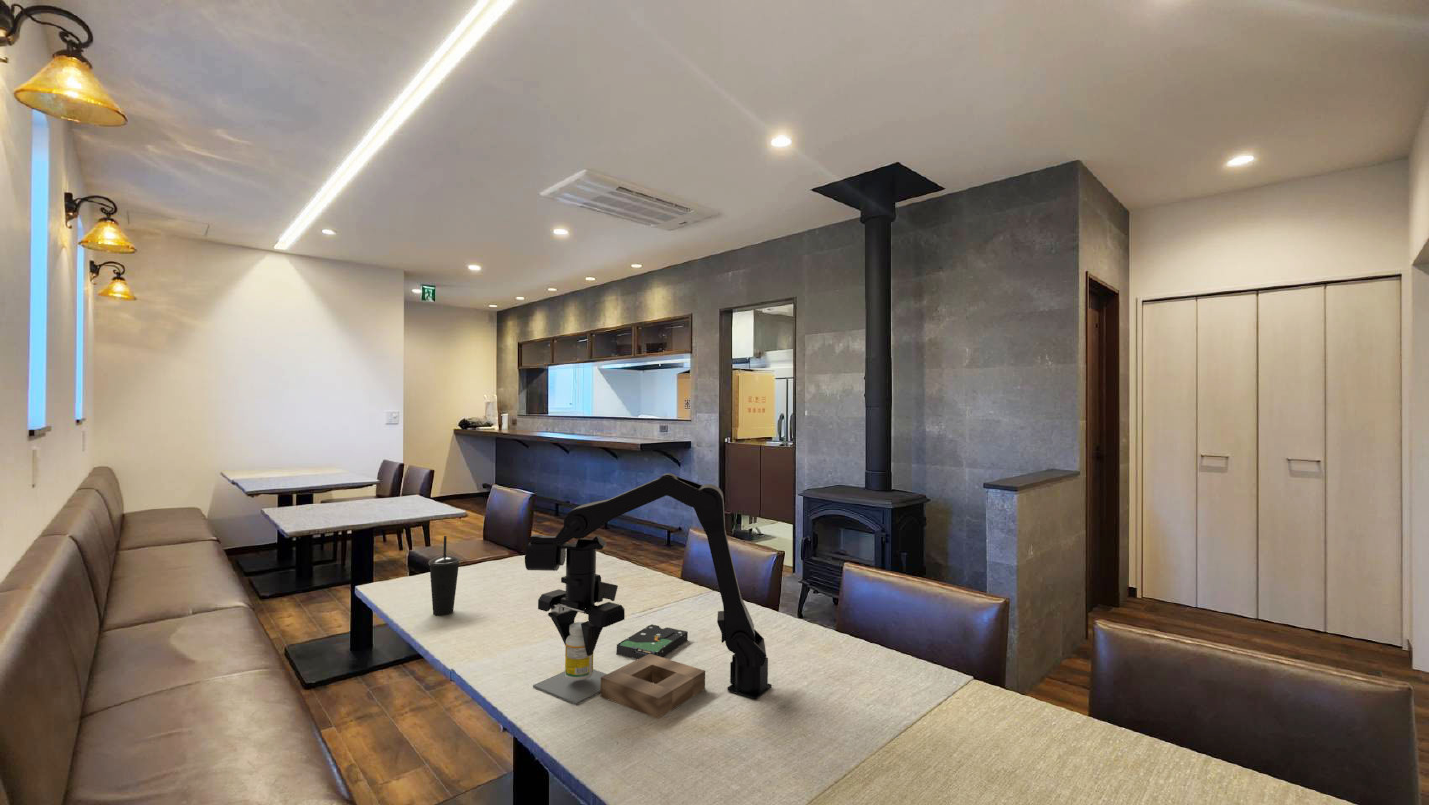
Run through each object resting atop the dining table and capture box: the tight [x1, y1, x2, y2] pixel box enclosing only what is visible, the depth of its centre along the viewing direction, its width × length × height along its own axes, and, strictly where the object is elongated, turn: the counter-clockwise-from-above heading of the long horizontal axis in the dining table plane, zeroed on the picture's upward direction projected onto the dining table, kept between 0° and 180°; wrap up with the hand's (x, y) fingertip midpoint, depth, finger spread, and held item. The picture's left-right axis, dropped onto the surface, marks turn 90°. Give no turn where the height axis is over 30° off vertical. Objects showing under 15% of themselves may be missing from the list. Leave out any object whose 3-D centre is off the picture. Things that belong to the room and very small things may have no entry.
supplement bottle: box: [564, 621, 594, 681], centre depth 115 cm, size 5×5×10 cm
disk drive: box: [616, 624, 689, 660], centre depth 134 cm, size 10×3×15 cm
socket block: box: [599, 654, 706, 720], centre depth 112 cm, size 14×14×4 cm
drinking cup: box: [428, 535, 461, 617], centre depth 156 cm, size 8×8×20 cm
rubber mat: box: [532, 668, 608, 706], centre depth 115 cm, size 12×12×1 cm
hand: (579, 651), depth 115 cm, fingers closed on supplement bottle, 5 cm apart
